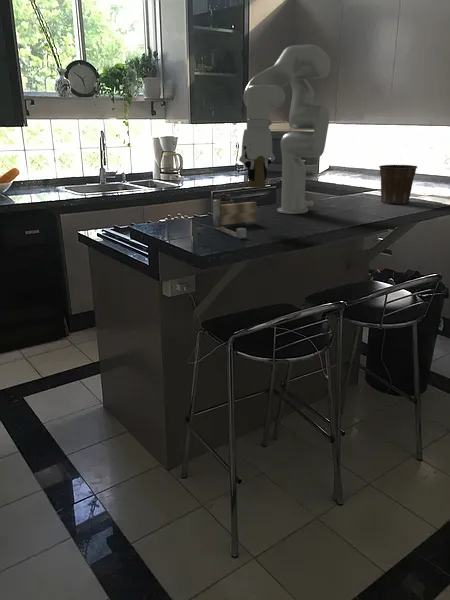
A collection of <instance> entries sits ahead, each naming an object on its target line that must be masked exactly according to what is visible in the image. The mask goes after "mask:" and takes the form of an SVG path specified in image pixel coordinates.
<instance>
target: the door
mask: <svg viewBox="0 0 450 600" xmlns="http://www.w3.org/2000/svg"><path fill="white" fill-rule="evenodd" d="M250 222H251V223H252V222H257V202H256V201H249V202H248V201H247V202H238V203H233V204H225V205H221V221H220V226H225V225H235V224H243V223H250Z"/></svg>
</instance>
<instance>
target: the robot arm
mask: <svg viewBox="0 0 450 600" xmlns="http://www.w3.org/2000/svg"><path fill="white" fill-rule="evenodd" d="M330 59H331V58H330V56H329V55H328V53H327V52H326V51H324V50H323V48H321V47H320V46H318V45H317V44H316V45H315V44H312V43H311V44H310V43H309V44H296V45H290V46H287V47H285V49H283V51H282V52H281V54H280V55H279V57H278V58H277V59H276V62H275V63H274V65H272V66H271V67H269V68H266V69H265V70H263V71H261V72H259V73H257V74H256V75H255V76H253V77H252V78H251V79H250V81H249V82H248V84H247V85H246V87H245V89H244V92H243V97H242V100H243V103H244V105H245V107H246V129H244V130H243V133H242V134H243V135H242V141H241V155H240V157H239V160H238V161H239V162H240V163H242V164H243V165H244V166H245V168H246V169H247V178H248V181H250V179H252V181H254V175H255V169H253V167H254V160H255V159H257V157H259V156H263V157H264V158H265V162H264V164H263V166H264V176H265V181H266V180H267V177H268V176H267V175H268V174H267V173H268V171H267V170H268V168H269V166H270V165H271V164H272V163H273V161H275V159H276V156H275V154H274V153H273V138H272V131H271V128H270V126H272V125H273V122H272V121H271V120H270V109H274V110H276V109H279V108H281V107H282V106H283V104H285V101H286V93H285V90H284V88H285V87H287V86H289V85H290V87H291V91H292V94H291V95H292V96H291V102H290V108H289V113H288V126H290V128H291V129H292V130H300V131H289V132H286V133H284V134H283V136H282V137H281V139H280V151H281V161H282V162H281V164H282V170H281V199H280V200H281V203H280V207H278V208H276V209H277V210H276V211H277V213H280V214H287V215H300V214H301V215H302V214H306V213H308V212H309V208H308V206H310V207H311V206H314V204H315V202H314V201H313V200H309V201H308V200H306V199H305V198H306V176H307V168H306V167H307V166H306V164H305V163H304V161H303V159H302V158H320V157H321V156H322V155H323V154H324V151H325V148H326V142H327V135H328V132H329V131H328V129H329V124H330V112H329V111H330V110H329V108H328V106H327V105H324V104H323V103H322V104H320V103H319V104H318V103H314V97H315V91H314V89H313V87H312V86H311V84H310V83H309V82H308V81H307V79H325V78H326V77H328V76H329V74H330V72H331V68H332V65H331V62H332V61H331V60H330ZM303 130H305V131H303ZM250 161H251V162H250Z"/></svg>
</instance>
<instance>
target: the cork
mask: <svg viewBox="0 0 450 600" xmlns="http://www.w3.org/2000/svg"><path fill="white" fill-rule="evenodd" d="M250 162H251V161H250ZM264 162H265V158H264V157H263V156H259V157H257V159H255V160H254V167H253V169H255V175H254V181H252V179H250V181H249V180H248V181H249V182H248V186H247V187H248V188H254V189H263V188H266V180H265V176H264V166H263V164H264Z"/></svg>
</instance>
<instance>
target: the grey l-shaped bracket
mask: <svg viewBox="0 0 450 600" xmlns="http://www.w3.org/2000/svg"><path fill="white" fill-rule="evenodd" d="M212 200H213V203H212V221H213V229H214V230H217V231H219V230H220V232H222V233H224V234H227V235H229V236H232V237H235V238H236V239H247V228H244V227H238V228H236V229H235V230H236V231H234V230H231V229H228V228H226V227H223V226H222V225H221V221H220V200H221V199H219V200H217V199H212Z"/></svg>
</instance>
